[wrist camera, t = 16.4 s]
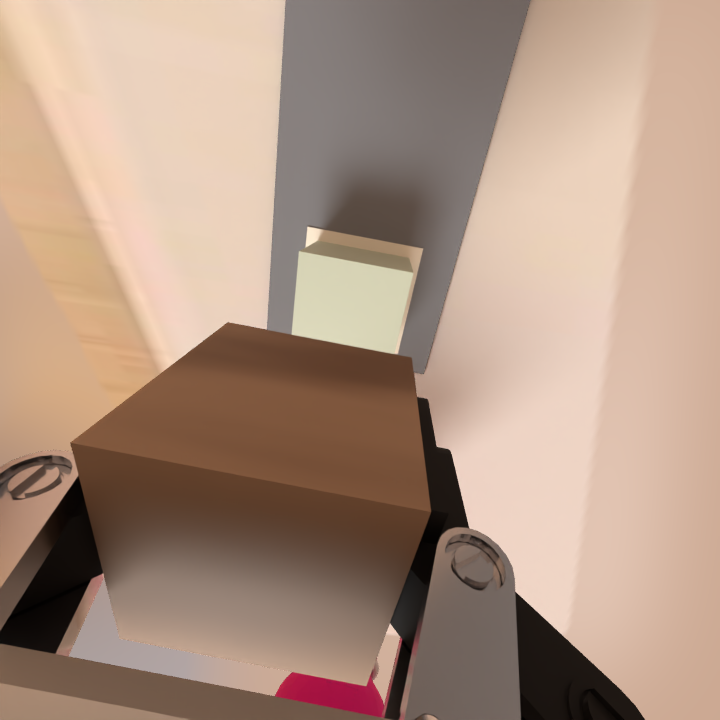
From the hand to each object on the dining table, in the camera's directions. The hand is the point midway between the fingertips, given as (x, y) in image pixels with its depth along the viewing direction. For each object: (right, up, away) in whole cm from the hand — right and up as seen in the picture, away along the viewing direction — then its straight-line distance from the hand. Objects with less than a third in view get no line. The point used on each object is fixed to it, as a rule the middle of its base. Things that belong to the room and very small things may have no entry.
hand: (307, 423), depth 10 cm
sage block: (+1, +6, +14) cm, 15 cm away
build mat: (+3, +15, +10) cm, 18 cm away
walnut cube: (0, 0, 0) cm, 0 cm away
